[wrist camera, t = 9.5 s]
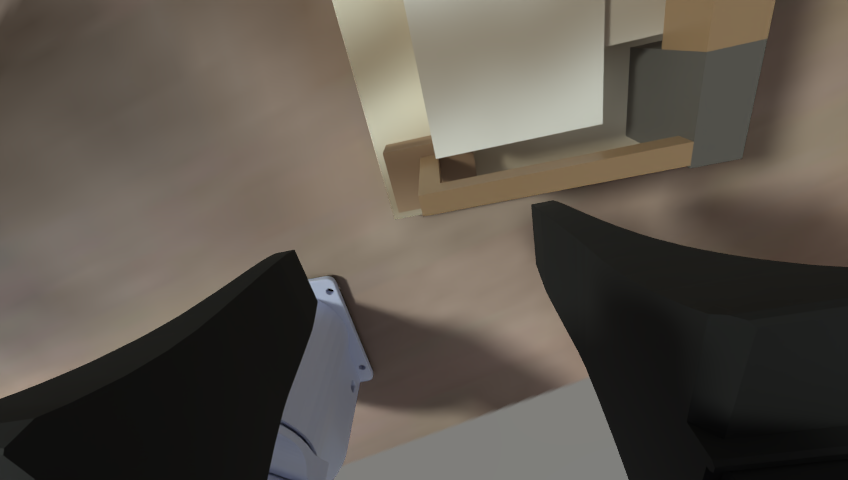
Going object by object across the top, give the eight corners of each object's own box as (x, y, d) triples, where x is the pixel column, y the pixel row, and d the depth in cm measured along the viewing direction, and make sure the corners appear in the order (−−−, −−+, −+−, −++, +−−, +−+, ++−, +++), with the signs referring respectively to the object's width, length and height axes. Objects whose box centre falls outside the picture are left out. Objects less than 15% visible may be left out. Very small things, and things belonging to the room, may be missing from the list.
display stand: (670, 154, 19) (750, 193, 15) (396, 208, 21) (387, 259, 16) (718, -278, 12) (905, -478, 7) (298, -144, 14) (231, -239, 9)
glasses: (664, 127, 16) (742, 158, 12) (424, 176, 17) (423, 218, 13) (697, -202, 11) (845, -333, 7) (362, -104, 12) (331, -169, 8)
